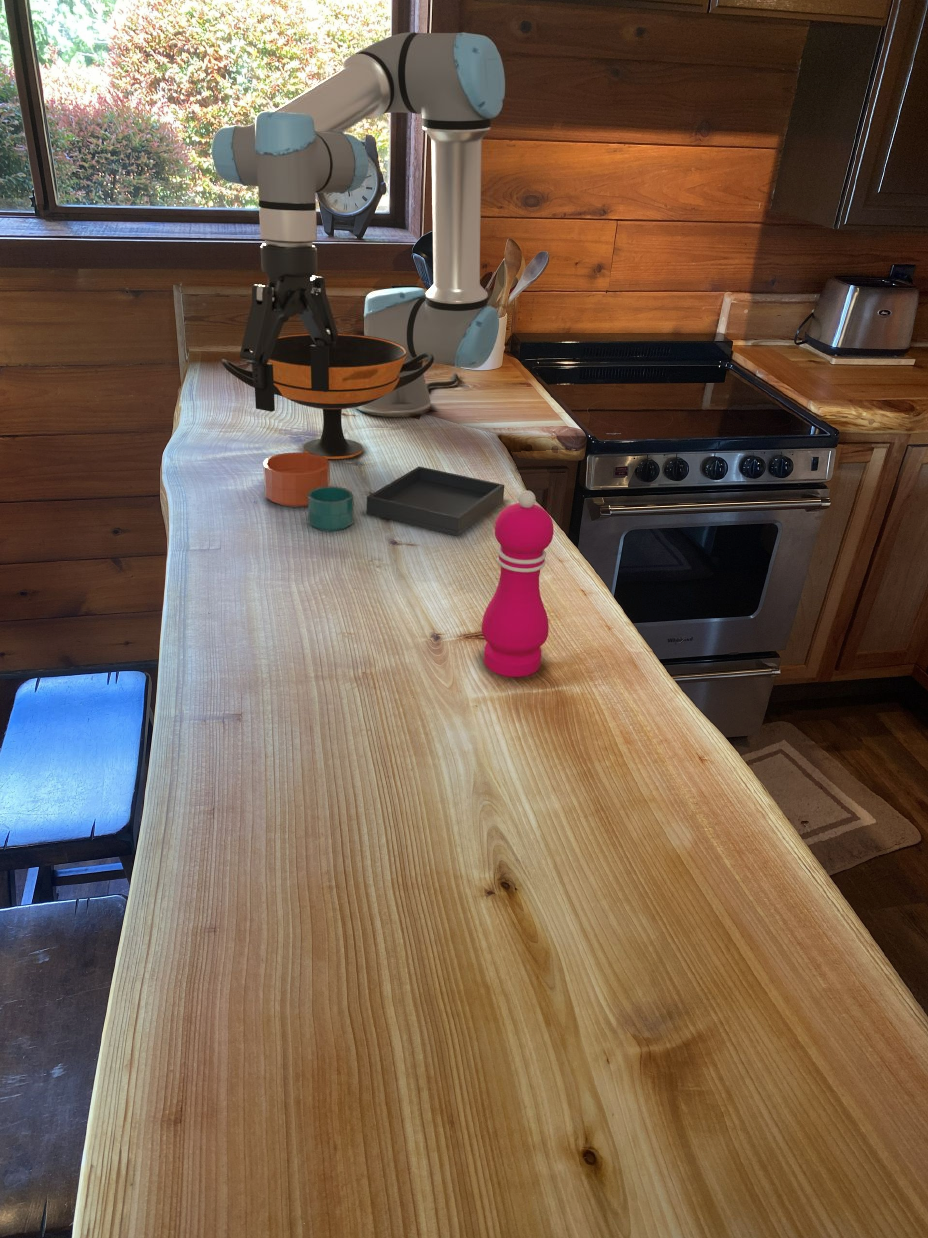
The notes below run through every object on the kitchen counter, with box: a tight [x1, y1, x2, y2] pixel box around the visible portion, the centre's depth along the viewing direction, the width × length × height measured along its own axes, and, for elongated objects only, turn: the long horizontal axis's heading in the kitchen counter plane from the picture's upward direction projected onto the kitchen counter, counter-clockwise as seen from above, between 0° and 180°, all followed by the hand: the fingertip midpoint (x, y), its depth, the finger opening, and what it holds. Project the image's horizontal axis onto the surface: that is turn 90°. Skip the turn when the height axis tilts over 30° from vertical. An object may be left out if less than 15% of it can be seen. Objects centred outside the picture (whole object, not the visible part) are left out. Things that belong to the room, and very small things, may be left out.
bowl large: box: [262, 451, 331, 508], centre depth 137 cm, size 10×10×6 cm
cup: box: [220, 332, 434, 460], centre depth 155 cm, size 36×26×18 cm
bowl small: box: [307, 486, 355, 532], centre depth 129 cm, size 6×6×4 cm
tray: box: [366, 466, 505, 537], centre depth 137 cm, size 16×15×3 cm
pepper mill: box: [480, 490, 555, 678], centre depth 94 cm, size 7×7×20 cm
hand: (293, 399), depth 131 cm, fingers open, 13 cm apart
